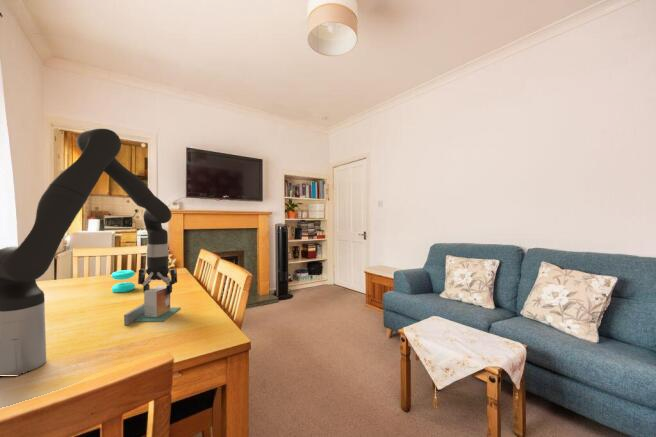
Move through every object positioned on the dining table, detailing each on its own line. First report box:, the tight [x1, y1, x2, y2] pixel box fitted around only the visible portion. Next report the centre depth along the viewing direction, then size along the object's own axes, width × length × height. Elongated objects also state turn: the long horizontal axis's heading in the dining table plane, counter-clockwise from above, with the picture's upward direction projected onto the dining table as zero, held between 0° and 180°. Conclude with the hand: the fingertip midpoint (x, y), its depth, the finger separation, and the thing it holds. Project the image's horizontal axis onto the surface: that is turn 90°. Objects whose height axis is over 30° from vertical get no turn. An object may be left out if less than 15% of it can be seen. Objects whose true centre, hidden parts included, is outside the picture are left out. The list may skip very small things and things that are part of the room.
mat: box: [133, 307, 181, 323], centre depth 114 cm, size 14×11×1 cm
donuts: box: [111, 269, 136, 294], centre depth 147 cm, size 10×10×10 cm
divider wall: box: [123, 303, 144, 326], centre depth 114 cm, size 20×1×4 cm, turn 3°
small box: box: [143, 285, 171, 318], centre depth 114 cm, size 8×6×10 cm
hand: (157, 294), depth 114 cm, fingers open, 8 cm apart
